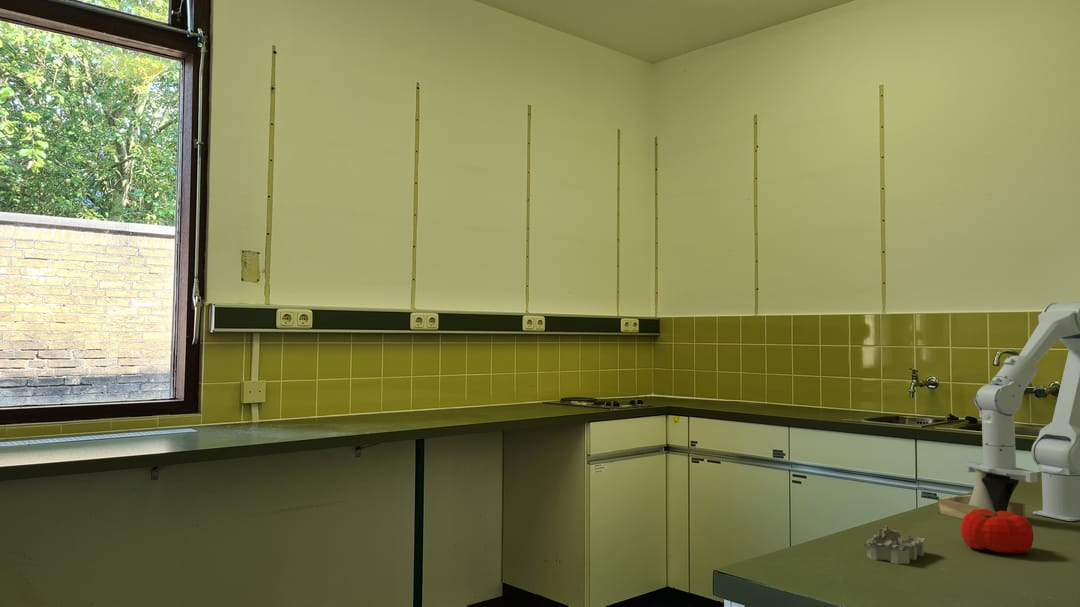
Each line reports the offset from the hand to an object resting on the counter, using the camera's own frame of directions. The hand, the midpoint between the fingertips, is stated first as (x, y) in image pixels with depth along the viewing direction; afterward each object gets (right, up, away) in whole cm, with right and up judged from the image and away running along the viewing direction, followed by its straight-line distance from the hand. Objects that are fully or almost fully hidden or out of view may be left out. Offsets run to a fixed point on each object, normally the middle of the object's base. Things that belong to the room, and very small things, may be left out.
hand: (1000, 513), depth 160 cm
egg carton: (-32, -1, -26) cm, 41 cm away
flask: (-1, -2, +3) cm, 4 cm away
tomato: (-14, -1, -22) cm, 26 cm away
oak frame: (-2, -2, +4) cm, 5 cm away
